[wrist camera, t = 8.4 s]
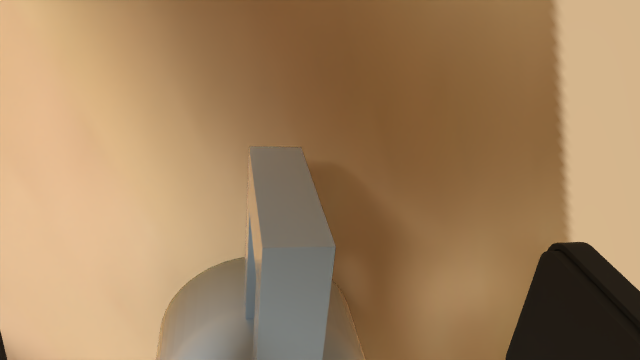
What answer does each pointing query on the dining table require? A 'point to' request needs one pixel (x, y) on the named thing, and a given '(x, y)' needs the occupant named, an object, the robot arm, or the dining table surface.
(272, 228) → the grey-blue mug
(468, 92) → the dining table surface
